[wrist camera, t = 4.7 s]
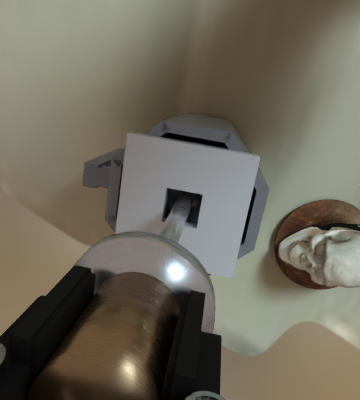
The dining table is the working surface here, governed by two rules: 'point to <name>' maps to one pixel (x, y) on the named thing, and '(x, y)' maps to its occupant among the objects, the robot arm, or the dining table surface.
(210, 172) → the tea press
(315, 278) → the skull
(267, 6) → the dining table surface
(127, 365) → the plunger
